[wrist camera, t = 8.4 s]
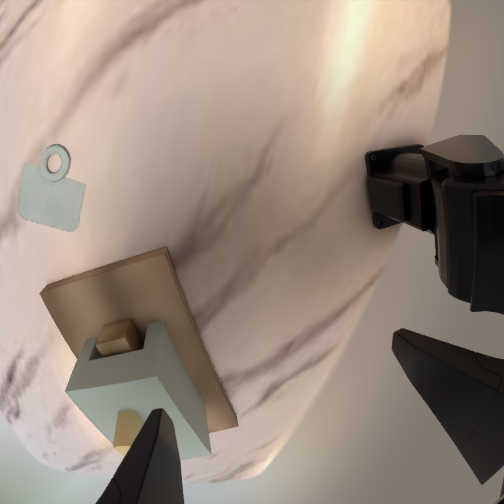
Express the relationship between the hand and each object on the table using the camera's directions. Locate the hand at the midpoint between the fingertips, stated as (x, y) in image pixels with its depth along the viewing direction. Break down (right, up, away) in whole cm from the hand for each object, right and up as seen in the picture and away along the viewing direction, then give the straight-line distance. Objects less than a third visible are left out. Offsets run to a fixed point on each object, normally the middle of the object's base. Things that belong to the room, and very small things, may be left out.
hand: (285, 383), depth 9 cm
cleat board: (-10, -6, +14) cm, 18 cm away
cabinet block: (-10, -6, +12) cm, 17 cm away
